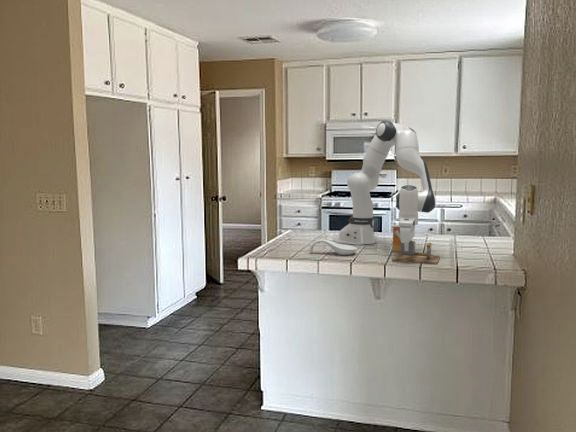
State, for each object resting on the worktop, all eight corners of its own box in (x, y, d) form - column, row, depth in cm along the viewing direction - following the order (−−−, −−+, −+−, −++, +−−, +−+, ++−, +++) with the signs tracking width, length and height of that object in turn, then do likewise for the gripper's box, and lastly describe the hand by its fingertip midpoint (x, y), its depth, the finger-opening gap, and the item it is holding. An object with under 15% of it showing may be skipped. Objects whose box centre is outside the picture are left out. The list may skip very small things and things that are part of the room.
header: (392, 261, 240) (392, 244, 239) (397, 255, 254) (397, 239, 253) (437, 264, 233) (437, 247, 232) (439, 257, 247) (440, 241, 246)
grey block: (400, 255, 243) (400, 242, 243) (402, 253, 248) (402, 240, 247) (414, 255, 241) (414, 243, 240) (415, 253, 246) (415, 241, 245)
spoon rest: (357, 252, 262) (357, 238, 262) (356, 257, 251) (356, 242, 250) (310, 251, 266) (310, 237, 265) (307, 256, 255) (307, 241, 254)
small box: (392, 251, 263) (392, 226, 261) (393, 249, 269) (394, 224, 267) (408, 252, 260) (409, 226, 259) (409, 250, 266) (410, 225, 265)
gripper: (404, 217, 253) (404, 245, 255) (398, 223, 234) (397, 253, 236) (418, 218, 251) (417, 246, 253) (412, 223, 232) (411, 254, 234)
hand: (407, 249), depth 244 cm, fingers closed on grey block, 5 cm apart
